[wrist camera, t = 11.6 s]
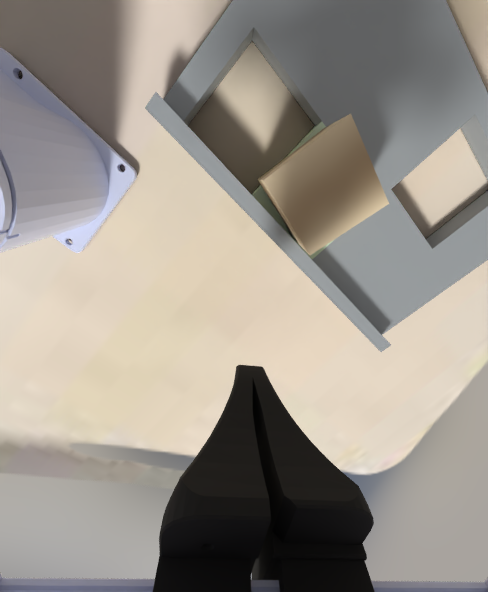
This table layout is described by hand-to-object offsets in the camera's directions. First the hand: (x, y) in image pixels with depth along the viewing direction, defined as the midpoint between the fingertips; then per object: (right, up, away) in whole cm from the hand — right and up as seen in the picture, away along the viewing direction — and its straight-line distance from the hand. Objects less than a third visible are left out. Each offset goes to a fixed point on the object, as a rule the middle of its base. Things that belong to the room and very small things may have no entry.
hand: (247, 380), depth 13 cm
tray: (+8, +13, +5) cm, 16 cm away
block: (+4, +12, +4) cm, 13 cm away
